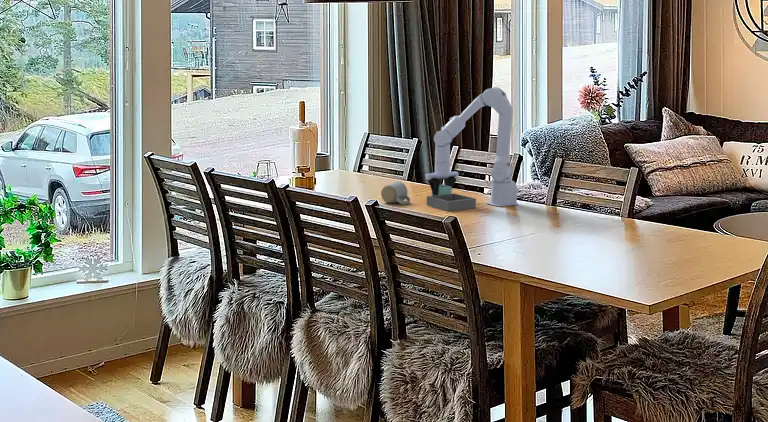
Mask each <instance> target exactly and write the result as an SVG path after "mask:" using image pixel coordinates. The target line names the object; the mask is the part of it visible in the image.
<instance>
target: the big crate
mask: <svg viewBox="0 0 768 422" xmlns="http://www.w3.org/2000/svg"><path fill="white" fill-rule="evenodd" d="M427 205H429V206H428V207H430V206H432V208H434V207H435V209H438V210H442V211H446V212H451V211H459V210H469V209H476V208H477V207H476V205H477V198H476V197H475V198H474V197H473V196H472V197H470V196H466V195H463V194H459V193H451V194H444V195H434V196H432V195H427V196H426V206H427Z"/></svg>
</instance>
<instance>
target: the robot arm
mask: <svg viewBox="0 0 768 422" xmlns="http://www.w3.org/2000/svg"><path fill="white" fill-rule="evenodd" d="M486 106H488V107H491V108H492V109H493V110H494V111H496V113H497V114H498V126H497V137H496V138H497V139H496V140H497V141H496V151H495V159H494V162H493V167H492V168H491V170H490V175H491V178H492V179H491V189H490V190H491V191H490V193H491V195H490V201H487V202H485V203H486V204H488V205H491V206H495V207H507V206H516V205H519V202H517V201H518V200H517V199H518V186H517V183H516V182H515V181H514V180H512V179H511V175H512V174H513V167H512V166H511V156H510V151H511V139H512V124H513V113H514V111H513V109H514V108H513V106H512V105H511V103H510V100H509V99H508V97H507V93H506V92H505V91H504V90H503V89H502V88H500V87H498V86H497V87H491V88H487V89H485V90H484V91H483V93H481V94H479V95H478V96H477V97H476V98H474V99H473V101H472V102H471V103H470V104H468V106H467V107H466V108H465V109H464V110H463V111H462V112H461V114H459V115H454V116H451V117H450V118H449V119H448V120H449V121H448V122H447V123H446V124H445V125H444V126H441V127H440V130H438V131H436V133H434V136H433V141H434V144H435V151H434V172H431V173H425V176H424V177H425V178H424V179H425V180H427V182H428V184H429V186H430V189H431V195H432V194H433V196H434V195H438V189H439V185H441V184H440V183H441V180H439V179H443V182H444V185H447V186H451V187H452V189H453V187H454V185H455V183H456V182H457V178H458V177H459V171H450V170H451V169H450V167H451V166H450V164H451V143H452V142H453V139H454V138H455V137H456V136H458V135H459V134H460V132H461V131H462V130H464V128H465V127H466V122H467V121H468V120H469V119H470V118H471V117H472V116H473V115H474V114H476V112H477V111H478V110H479V109H481V108H483V107H486Z"/></svg>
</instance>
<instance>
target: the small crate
mask: <svg viewBox="0 0 768 422" xmlns="http://www.w3.org/2000/svg"><path fill="white" fill-rule="evenodd" d="M452 191H453V188H452V187H451V186H447V185H445V184H439V189H438V195H444V194H453V193H452ZM431 196H433V194H432V193H431Z"/></svg>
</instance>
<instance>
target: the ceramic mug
mask: <svg viewBox="0 0 768 422" xmlns="http://www.w3.org/2000/svg"><path fill="white" fill-rule="evenodd" d="M408 192H409V191H408V188H407V186H406V184H405V183H404V182H402V181H399V180H397V181H393V182H391V183H389V184H386V185H385V186H384V187H382V189H381V192H380V195H381V198H382V200H383V201H384V202H385V203H386V204H396V203H398V204H401V205H410V203H411V198H410V197H409V195H408Z"/></svg>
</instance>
